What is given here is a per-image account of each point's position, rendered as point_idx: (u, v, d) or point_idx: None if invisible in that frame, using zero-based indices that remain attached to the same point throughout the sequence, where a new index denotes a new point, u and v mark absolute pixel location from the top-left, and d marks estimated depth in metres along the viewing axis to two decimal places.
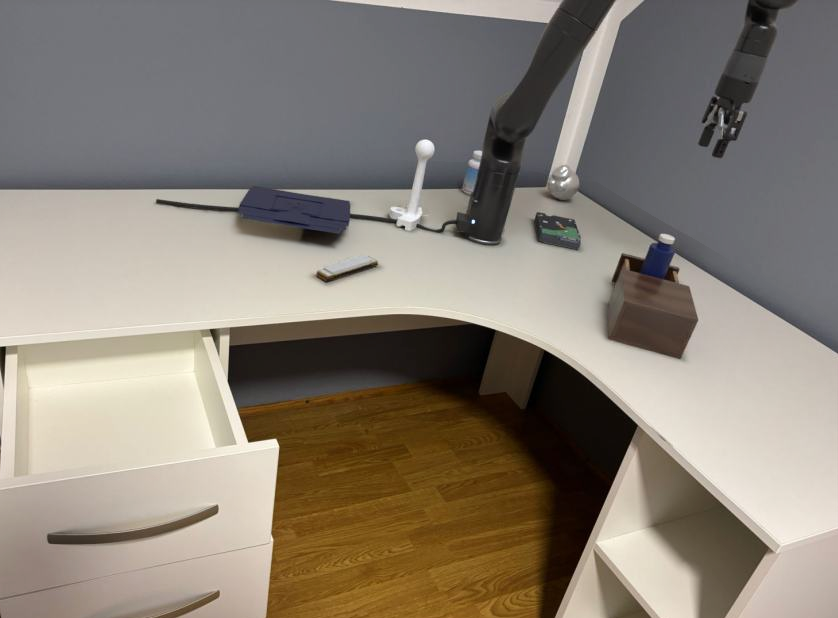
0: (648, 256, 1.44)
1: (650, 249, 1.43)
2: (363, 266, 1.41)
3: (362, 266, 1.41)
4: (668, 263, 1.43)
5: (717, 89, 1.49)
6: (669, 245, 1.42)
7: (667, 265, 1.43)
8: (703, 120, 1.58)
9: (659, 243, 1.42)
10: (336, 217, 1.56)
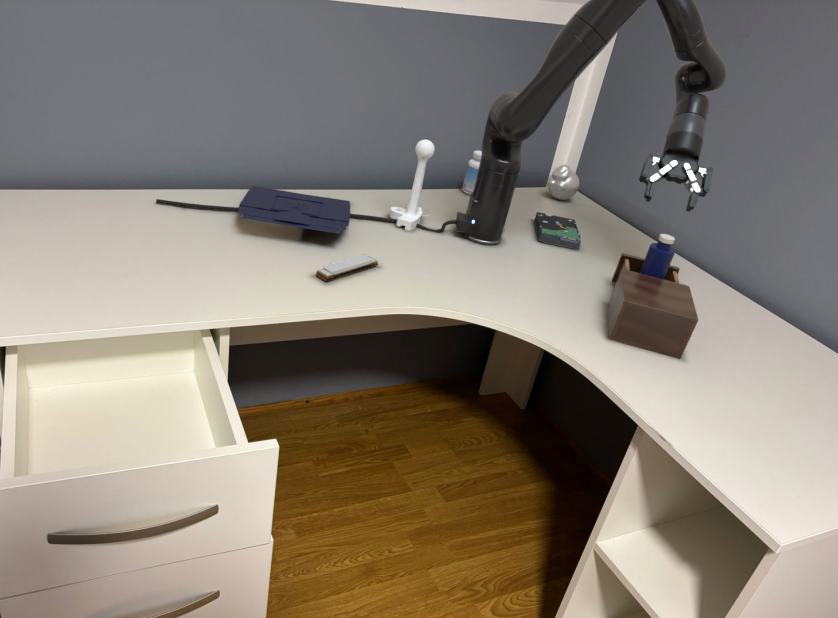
0: (648, 256, 1.44)
1: (650, 249, 1.43)
2: (363, 266, 1.41)
3: (362, 266, 1.41)
4: (668, 263, 1.43)
5: (687, 144, 1.49)
6: (669, 245, 1.42)
7: (667, 265, 1.43)
8: (646, 174, 1.51)
9: (659, 243, 1.42)
10: (336, 217, 1.56)
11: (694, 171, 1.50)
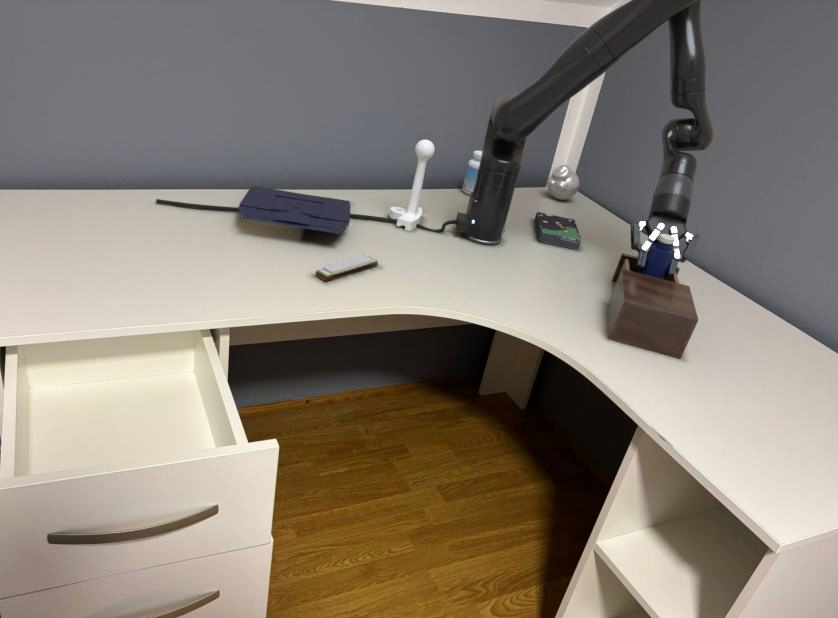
0: (648, 256, 1.44)
1: (650, 249, 1.43)
2: (363, 266, 1.41)
3: (362, 266, 1.41)
4: (668, 263, 1.43)
5: (674, 207, 1.44)
6: (669, 245, 1.42)
7: (667, 265, 1.43)
8: (638, 242, 1.45)
9: (659, 243, 1.42)
10: (336, 217, 1.56)
11: (680, 234, 1.45)
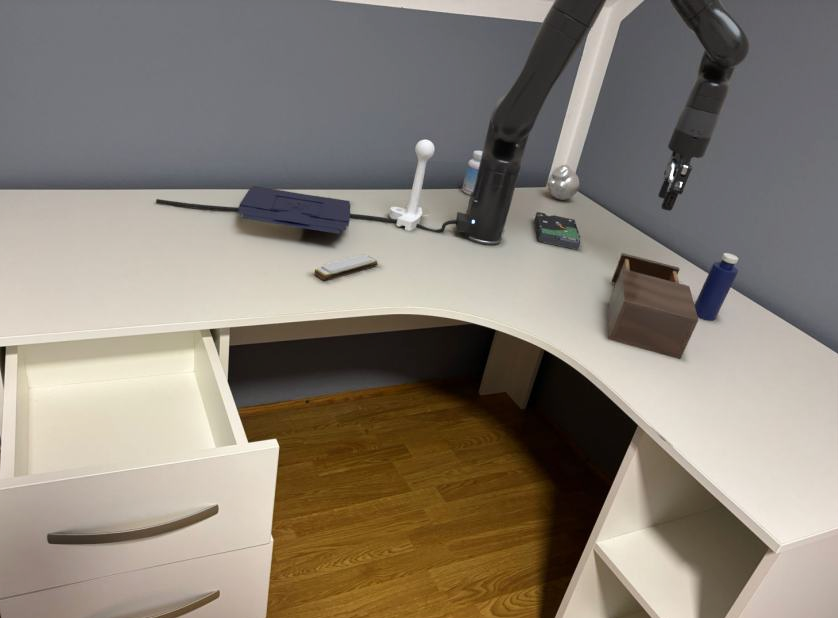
0: (711, 275, 1.46)
1: (713, 268, 1.46)
2: (362, 266, 1.42)
3: (361, 266, 1.41)
4: (731, 282, 1.45)
5: (669, 142, 1.49)
6: (732, 264, 1.44)
7: (730, 284, 1.45)
8: (665, 172, 1.58)
9: (722, 262, 1.45)
10: (336, 217, 1.56)
11: (676, 168, 1.48)
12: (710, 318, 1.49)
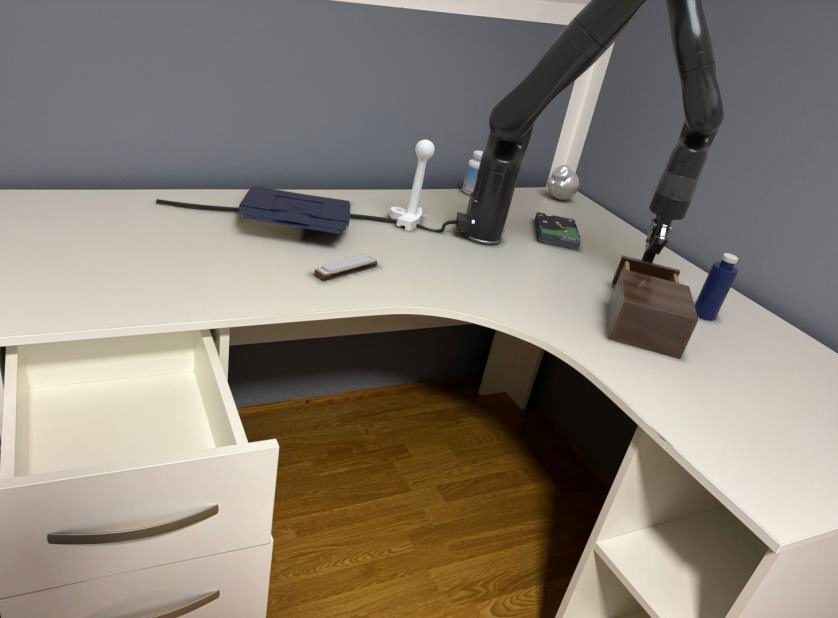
0: (711, 275, 1.46)
1: (713, 268, 1.46)
2: (362, 266, 1.42)
3: (361, 265, 1.41)
4: (731, 282, 1.45)
5: (650, 204, 1.50)
6: (732, 264, 1.44)
7: (730, 284, 1.45)
8: (646, 240, 1.56)
9: (722, 262, 1.45)
10: (336, 217, 1.56)
11: (657, 228, 1.50)
12: (710, 318, 1.49)
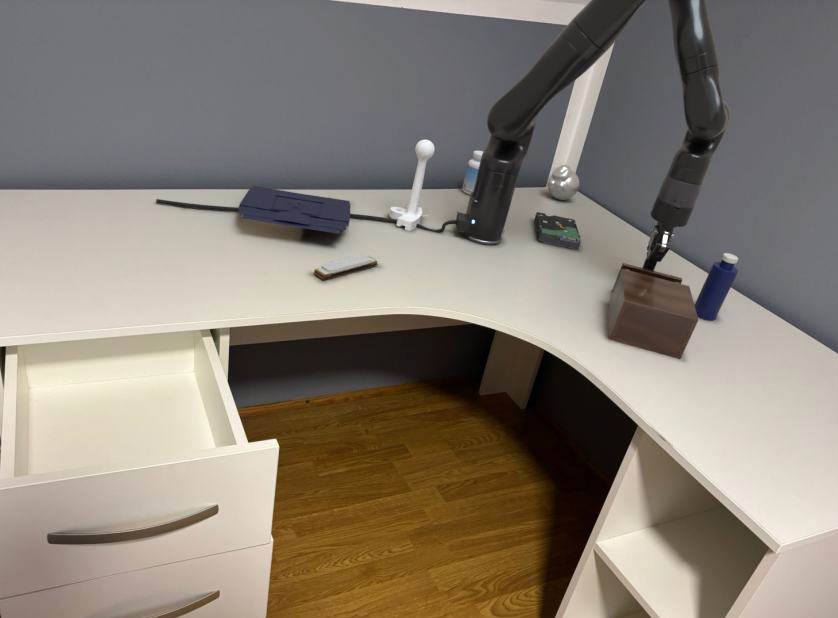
0: (711, 275, 1.46)
1: (713, 268, 1.46)
2: (362, 266, 1.42)
3: (361, 265, 1.41)
4: (731, 282, 1.45)
5: (652, 210, 1.46)
6: (732, 264, 1.44)
7: (730, 284, 1.45)
8: (648, 247, 1.53)
9: (722, 262, 1.45)
10: (336, 217, 1.56)
11: (658, 235, 1.46)
12: (710, 318, 1.49)
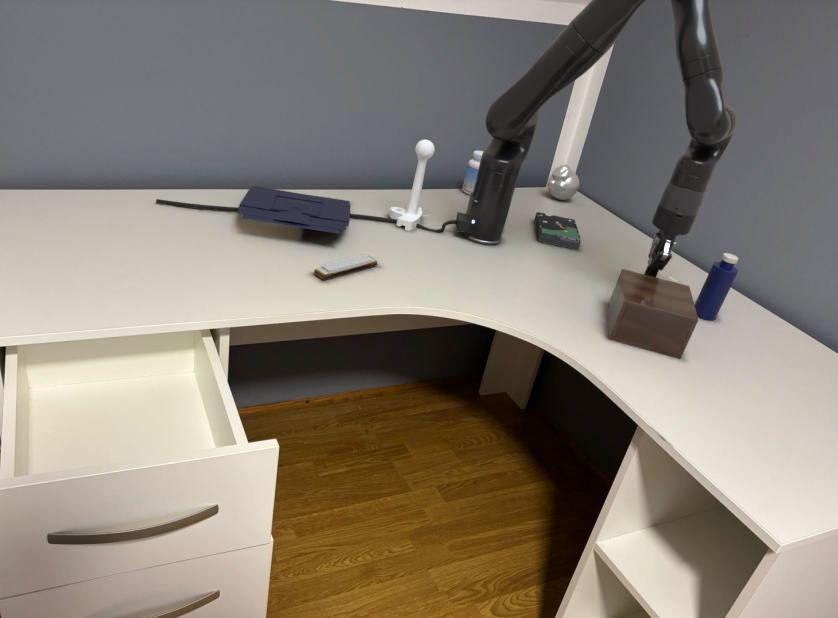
0: (711, 275, 1.46)
1: (713, 268, 1.46)
2: (362, 265, 1.42)
3: (361, 265, 1.41)
4: (731, 282, 1.45)
5: (653, 217, 1.42)
6: (732, 264, 1.44)
7: (730, 284, 1.45)
8: (649, 255, 1.49)
9: (722, 262, 1.45)
10: (336, 217, 1.56)
11: (660, 243, 1.42)
12: (710, 318, 1.49)
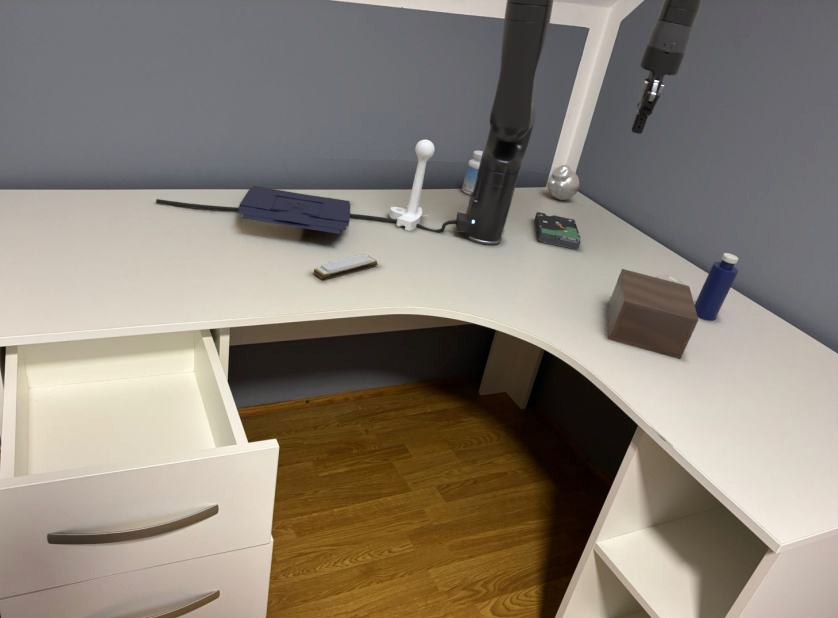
0: (711, 275, 1.46)
1: (713, 268, 1.46)
2: (362, 265, 1.42)
3: (360, 265, 1.41)
4: (731, 282, 1.45)
5: (642, 60, 1.44)
6: (732, 264, 1.44)
7: (730, 284, 1.45)
8: (638, 105, 1.50)
9: (722, 262, 1.45)
10: (336, 217, 1.56)
11: (648, 86, 1.43)
12: (710, 318, 1.49)
